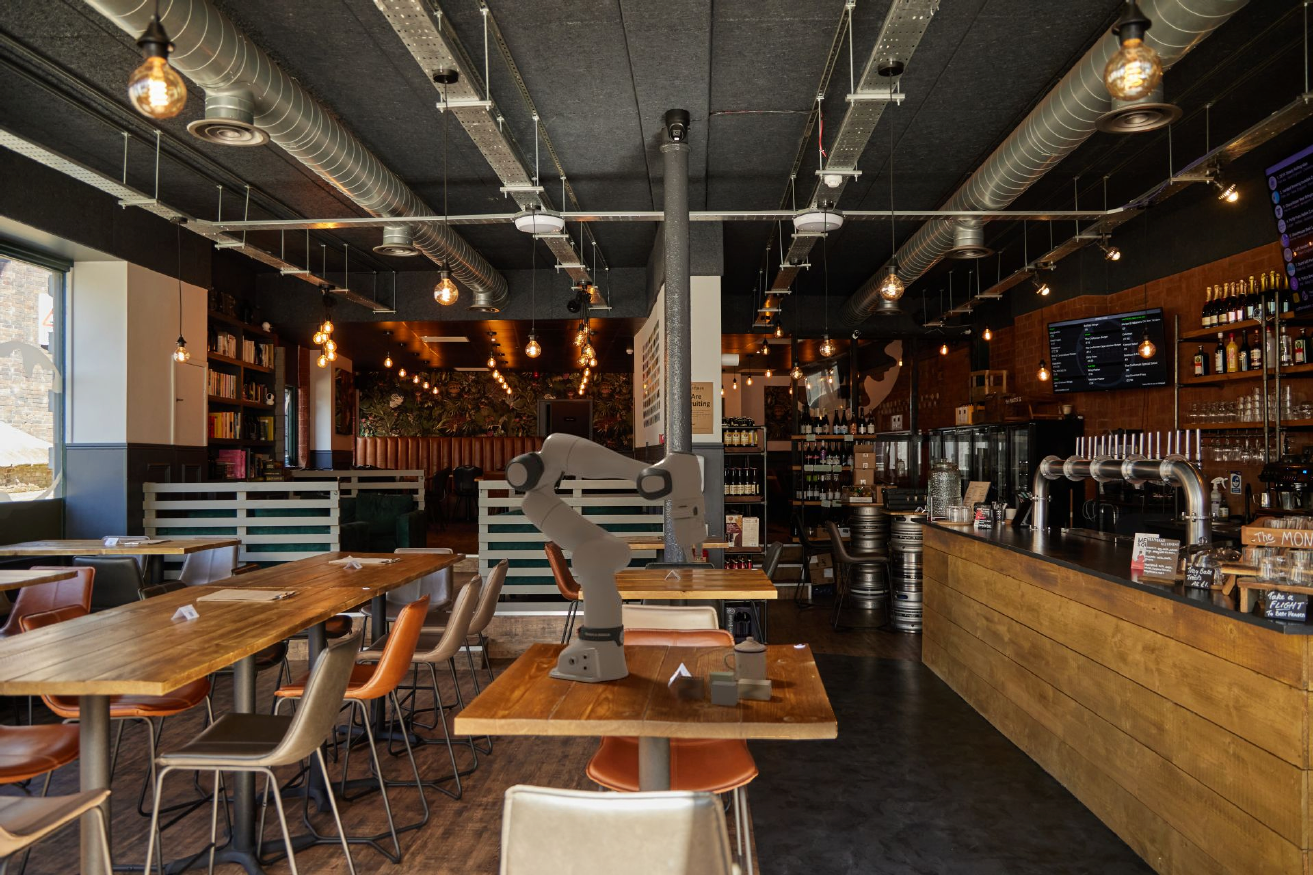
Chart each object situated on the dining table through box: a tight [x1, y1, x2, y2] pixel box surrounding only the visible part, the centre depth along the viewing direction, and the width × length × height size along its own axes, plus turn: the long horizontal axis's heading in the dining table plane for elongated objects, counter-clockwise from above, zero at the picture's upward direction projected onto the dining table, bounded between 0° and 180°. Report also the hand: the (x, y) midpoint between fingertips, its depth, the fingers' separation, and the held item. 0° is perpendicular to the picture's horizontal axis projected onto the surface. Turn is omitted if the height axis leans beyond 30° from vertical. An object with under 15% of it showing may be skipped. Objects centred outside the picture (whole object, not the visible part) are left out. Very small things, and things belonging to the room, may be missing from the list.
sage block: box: [708, 671, 736, 694], centre depth 225 cm, size 6×4×5 cm, turn 72°
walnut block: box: [677, 675, 705, 701], centre depth 221 cm, size 6×4×5 cm, turn 72°
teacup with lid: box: [723, 636, 768, 682], centre depth 239 cm, size 12×9×12 cm
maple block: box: [737, 679, 772, 701], centre depth 221 cm, size 8×5×4 cm, turn 74°
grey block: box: [710, 681, 739, 707], centre depth 215 cm, size 6×4×5 cm, turn 72°
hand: (694, 560), depth 232 cm, fingers open, 8 cm apart
